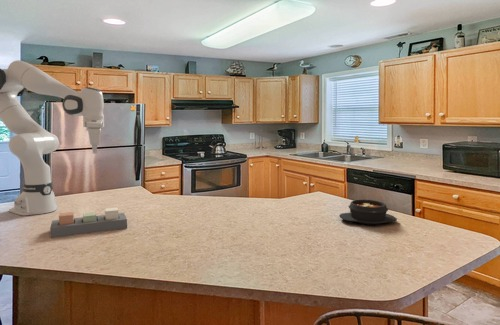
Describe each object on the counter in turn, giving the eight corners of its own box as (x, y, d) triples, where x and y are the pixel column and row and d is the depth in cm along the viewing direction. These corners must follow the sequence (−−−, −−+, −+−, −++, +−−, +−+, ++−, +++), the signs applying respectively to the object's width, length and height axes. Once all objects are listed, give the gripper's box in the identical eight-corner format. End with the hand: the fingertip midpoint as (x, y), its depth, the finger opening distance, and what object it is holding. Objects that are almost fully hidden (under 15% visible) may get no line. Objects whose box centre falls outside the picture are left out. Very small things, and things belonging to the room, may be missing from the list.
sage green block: (83, 228, 141) (82, 216, 141) (83, 225, 146) (82, 213, 145) (97, 226, 144) (96, 215, 143) (96, 223, 148) (95, 212, 147)
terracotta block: (59, 228, 138) (58, 216, 137) (60, 225, 142) (59, 213, 141) (73, 226, 140) (73, 214, 139) (74, 223, 144) (73, 211, 144)
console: (50, 238, 134) (50, 228, 133) (52, 229, 144) (52, 220, 143) (127, 228, 146) (126, 219, 145) (124, 221, 156) (124, 212, 155)
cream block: (106, 223, 145) (105, 211, 144) (105, 220, 149) (104, 208, 149) (118, 221, 147) (118, 210, 146) (117, 218, 151) (117, 207, 151)
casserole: (345, 227, 148) (345, 208, 147) (334, 215, 166) (335, 198, 165) (403, 227, 148) (405, 208, 147) (387, 215, 166) (388, 198, 165)
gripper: (86, 122, 168) (87, 151, 170) (86, 123, 150) (87, 155, 151) (100, 122, 171) (101, 150, 172) (102, 124, 152) (103, 155, 154)
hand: (94, 153), depth 162 cm, fingers closed
